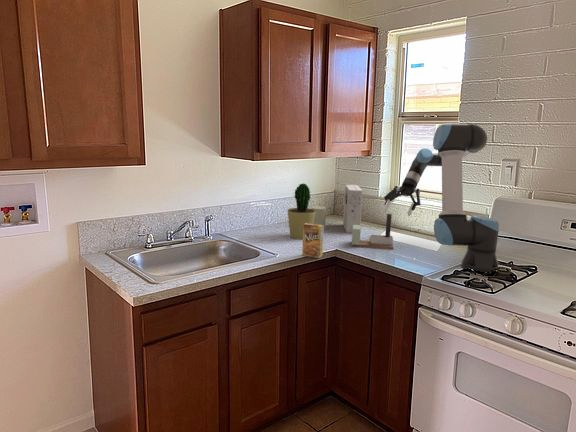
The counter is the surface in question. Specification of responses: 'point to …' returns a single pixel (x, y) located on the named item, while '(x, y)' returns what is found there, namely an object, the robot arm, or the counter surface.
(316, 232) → the candy box
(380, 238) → the sleeve
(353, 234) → the socket block
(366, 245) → the base board
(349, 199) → the white upright box
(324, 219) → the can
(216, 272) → the counter surface
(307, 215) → the potted cactus
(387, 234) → the upright peg on base
